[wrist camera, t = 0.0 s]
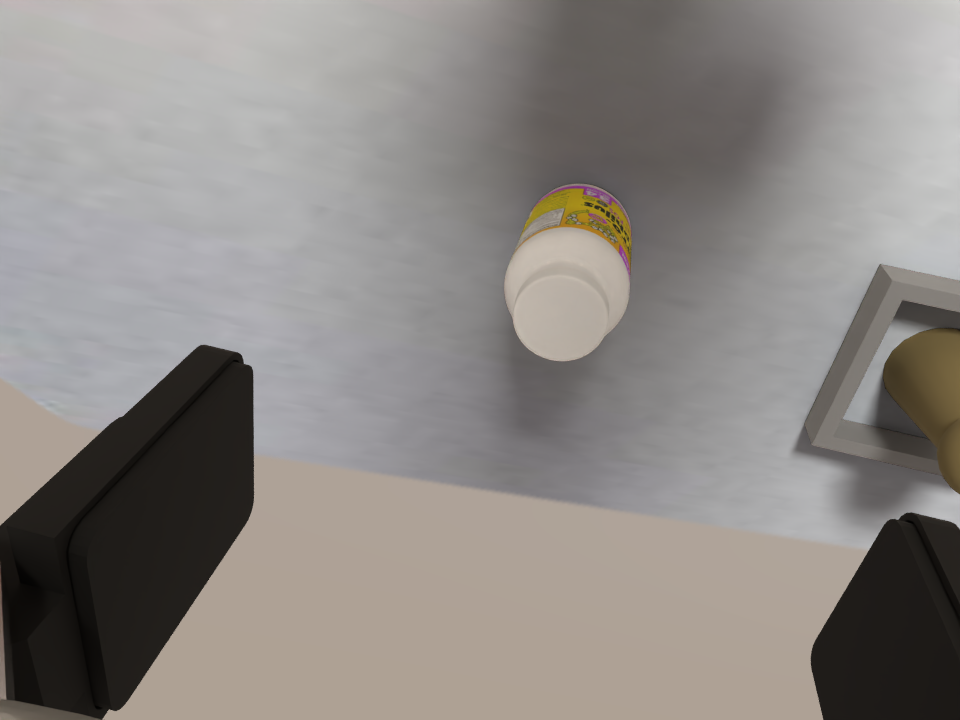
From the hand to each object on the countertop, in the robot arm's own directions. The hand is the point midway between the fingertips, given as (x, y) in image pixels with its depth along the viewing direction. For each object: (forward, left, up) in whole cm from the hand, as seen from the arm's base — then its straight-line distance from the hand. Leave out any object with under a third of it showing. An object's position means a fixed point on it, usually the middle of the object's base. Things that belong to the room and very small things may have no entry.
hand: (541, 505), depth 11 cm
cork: (+13, +24, -37) cm, 46 cm away
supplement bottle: (+9, 0, -37) cm, 38 cm away
